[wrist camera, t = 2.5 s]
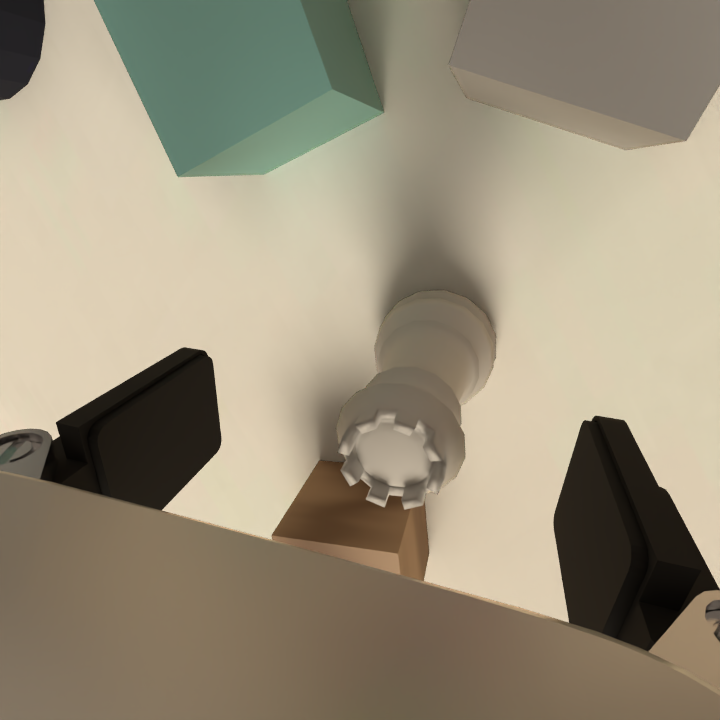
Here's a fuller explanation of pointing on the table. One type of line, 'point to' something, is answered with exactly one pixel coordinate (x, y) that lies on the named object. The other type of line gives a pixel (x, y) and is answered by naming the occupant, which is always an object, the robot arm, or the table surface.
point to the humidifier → (19, 43)
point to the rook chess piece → (417, 398)
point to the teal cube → (243, 78)
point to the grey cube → (594, 64)
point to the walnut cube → (355, 524)
